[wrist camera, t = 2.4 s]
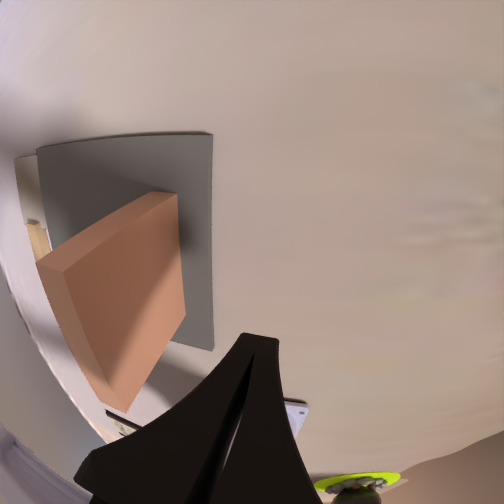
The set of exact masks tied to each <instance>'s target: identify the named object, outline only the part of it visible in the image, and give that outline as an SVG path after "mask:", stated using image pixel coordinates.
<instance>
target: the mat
mask: <svg viewBox="0 0 504 504" xmlns="http://www.w3.org/2000/svg"><path fill="white" fill-rule="evenodd" d="M212 150H213V135H146V136H129V137H116V138H105V139H95V140H86V141H79V142H71V143H65V144H58V145H52V146H47V147H41V148H38V149H36V153H37V164H38V174H39V182H40V189H41V196H42V202H43V207H44V213H45V218H46V223H47V228H48V232H49V236H50V241H51V245H52V249H53V250H54V249H55V248H57V247H58V246H60V245H61V244H63V243H64V242H66V241H67V240H69V239H70V238H72V237H73V236H75V235H77V234H78V233H80V232H81V231H83V230H84V229H86V228H88V227H89V226H91V225H93V224H94V223H96V222H98V221H99V220H101V219H103V218H104V217H106V216H108V215H109V214H111V213H113V212H115V211H116V210H118V209H120V208H122V207H123V206H125V205H127V204H129V203H130V202H132V201H134V200H136V199H138V198H140V197H142V196H143V195H145V194H147V193H149V192H151V191H152V192H166V193H177V201H178V225H179V242H180V257H181V270H182V282H183V292H184V302H185V311H186V316H185V317H184V319H183V320H182V322H181V324H180V325H179V327H178V328H177V330H176V332H175V333H174V335H173V337H172V338H171V340H170V341H173V342H177V343H181V344H184V345H188V346H192V347H196V348H200V349H204V350H208V351H213V348H214V329H213V301H212V250H211V200H212Z"/></svg>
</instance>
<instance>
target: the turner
mask: <svg viewBox="0 0 504 504" xmlns="http://www.w3.org/2000/svg"><path fill="white" fill-rule="evenodd" d="M14 162H15V171H16V179H17V186H18V193H19V199H20V204H21V209H22V214H23V219H24V224H25V225H26V226H27V230H28V234H29V238H30V242H31V246H32V249H33V253H34V256H35V260H36V262H37V261H38V260H40V259H41V258H42V257H44V256H45V255H47V254H48V253H50V252H51V251H50V247H49V243H48V239H47V235H46V231H45V229H48V228H47V223H46V218H45V213H44V207H43V202H42V196H41V189H40V182H39V174H38V164H37V155H32V156H26V157H21V158H16V159H14Z"/></svg>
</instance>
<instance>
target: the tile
mask: <svg viewBox="0 0 504 504" xmlns="http://www.w3.org/2000/svg"><path fill="white" fill-rule="evenodd" d="M35 263H36V266H37V270H38V273H39V276H40V279H41V282H42V284H43V287H44V290H45V293H46V295H47V298H48V301H49V303H50V306H51V308H52V310H53V313H54V315H55V318H56V320H57V322H58V324H59V327H60V329H61V331H62V333H63V335H64V337H65V340H66V342H67V344H68V346H69V348H70V350H71V352H72V354H73V355H74V357H75V359H76V361H77V363H78V365H79V367H80V368H81V370H82V372H83V374H84V376H85V377H86V379H87V381H88V382H89V384H90V386H91V387H92V389H93V391H94V392H95V394H96V395H97V397H98V398H99V400H100V401H101V402H103V403H105V404H107V405H109V406H111V407H113V408H115V409H117V410H119V411H121V412H123V413H127V411H128V409H129V408H130V406H131V404H132V403H133V401H134V399H135V398H136V396H137V394H138V392H139V391H140V389H141V387H142V386H143V384H144V382H145V381H146V379H147V377H148V376H149V374H150V372H151V371H152V369H153V368H154V366H155V364H156V363H157V361H158V359H159V358H160V356H161V354H162V353H163V351H164V349H165V348H166V346H167V345H168V343H169V341H170V340H171V338H172V337H173V335H174V333H175V332H176V330H177V328H178V327H179V325H180V324H181V322H182V320H183V319H184V317H185V316H186V311H185V302H184V292H183V282H182V270H181V257H180V242H179V225H178V201H177V193H166V192H152V191H151V192H149V193H147V194H145V195H143V196H142V197H140V198H138V199H136V200H134V201H132V202H130V203H129V204H127V205H125V206H123V207H122V208H120V209H118V210H116V211H115V212H113V213H111V214H109V215H108V216H106V217H104V218H103V219H101V220H99V221H98V222H96V223H94V224H93V225H91V226H89V227H88V228H86V229H84V230H83V231H81V232H80V233H78V234H77V235H75V236H73V237H72V238H70V239H69V240H67V241H66V242H64V243H63V244H61V245H60V246H58V247H57V248H55V249H54V250H52V251H51V252H50V253H48V254H47V255H45V256H44V257H42V258H41V259H40V260H38V261H37V262H35Z"/></svg>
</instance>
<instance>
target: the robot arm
mask: <svg viewBox="0 0 504 504" xmlns="http://www.w3.org/2000/svg"><path fill="white" fill-rule="evenodd" d="M278 355H279V340H278V339H277V338H271V337H265V336H260V335H255V334H249V333H242V334H240V336H239V337H238V339H237V340H236V342H235V343H234V345H233V346H232V348H231V349H230V350H229V352H228V353H227V354H226V355H225V357H224V358H223V359H222V360H221V361H220V363H219V364H218V365H217V366H216V367H215V368H214V369H213V370H212V372H211V373H210V374H209V375H208V376H207V377H206V378H205V379H204V380H203V381H202V382H201V383H200V384H199V385H198V386H197V387H196V388H195V389H194V390H192V391H191V392H190V393H189V394H188V395H187V396H186V397H184V398H183V399H182V400H181V401H180V402H178V403H177V404H176V405H175V406H173V407H172V408H171V409H169V410H168V411H166V412H165V413H164V414H162V415H161V416H159V417H158V418H156V419H155V420H153V421H152V422H150V423H149V424H147V425H145V426H143V427H142V428H140V429H138V430H136V431H134V432H133V433H131V434H129V435H127V436H125V437H123V438H121V439H119V440H116V441H114V442H112V443H109V444H107V445H104V446H102V447H99V448H97V449H94V450H92V451H91V452H90V453H89V455H88V456H87V457H86V458H85V460H84V461H83V462H82V464H81V466H80V468H79V469H78V471H77V473H76V474H75V476H74V478H73V479H74V481H75V482H76V483H77V484H78V485H80V486H81V487H83V488H84V489H86V490H88V491H89V492H91V493H92V494H93V496H91V495H89V494H88V493H86V492H85V491H83V490H82V489H80V488H78V487H77V486H76V485H74V484H73V483H71V482H70V481H68V480H67V479H65V478H64V477H63V476H61V475H60V474H59V473H57V472H56V471H55V470H53V469H52V468H51V467H49V466H48V465H47V464H46V463H44V462H43V461H42V460H41V459H39V458H38V457H37V456H36V455H35V454H34V452H33V451H32V450H31V449H29V448H28V447H27V446H26V445H25V444H24V443H23V442H22V441H21V440H20V439H18V438H17V437H16V436H15V435H14V434H13V433H11V432H10V431H9V430H7V428H6V427H5V426H4V425H2V423H1V422H0V494H1V496H2V497H3V498H4V500H5V501H6V502H7V504H323V503H322V501H321V499H320V497H319V496H318V494H317V492H316V490H315V488H314V486H313V484H312V482H311V480H310V477H309V475H308V473H307V470H306V468H305V466H304V463H303V461H302V458H301V456H300V453H299V451H298V448H297V445H296V442H295V438H296V436H297V434H298V432H299V430H300V428H301V426H302V424H303V422H304V420H305V418H306V415H307V413H308V411H309V406H308V405H307V404H302V403H294V402H288V401H284V397H283V392H282V386H281V379H280V371H279V356H278Z"/></svg>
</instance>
